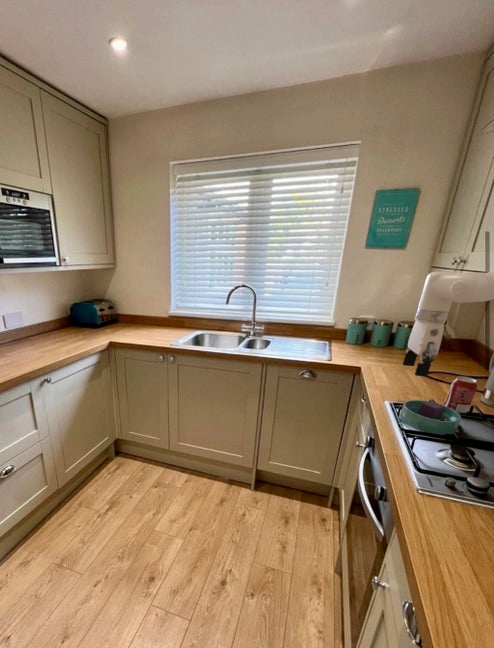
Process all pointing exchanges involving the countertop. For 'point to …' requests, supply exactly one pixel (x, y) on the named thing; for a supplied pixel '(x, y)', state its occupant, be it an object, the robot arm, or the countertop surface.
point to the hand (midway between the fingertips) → (414, 370)
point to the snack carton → (431, 410)
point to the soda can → (461, 394)
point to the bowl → (426, 424)
